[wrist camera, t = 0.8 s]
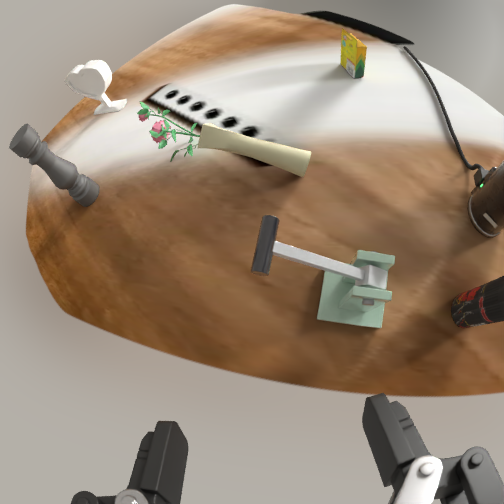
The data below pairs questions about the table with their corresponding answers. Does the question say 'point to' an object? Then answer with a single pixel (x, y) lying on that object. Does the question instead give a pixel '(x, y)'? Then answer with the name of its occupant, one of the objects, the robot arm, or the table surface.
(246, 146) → the flower vase
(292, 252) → the lever
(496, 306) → the deodorant
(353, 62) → the crayon box
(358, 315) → the bracket
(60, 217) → the table surface
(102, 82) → the heart sculpture
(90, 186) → the candle holder
